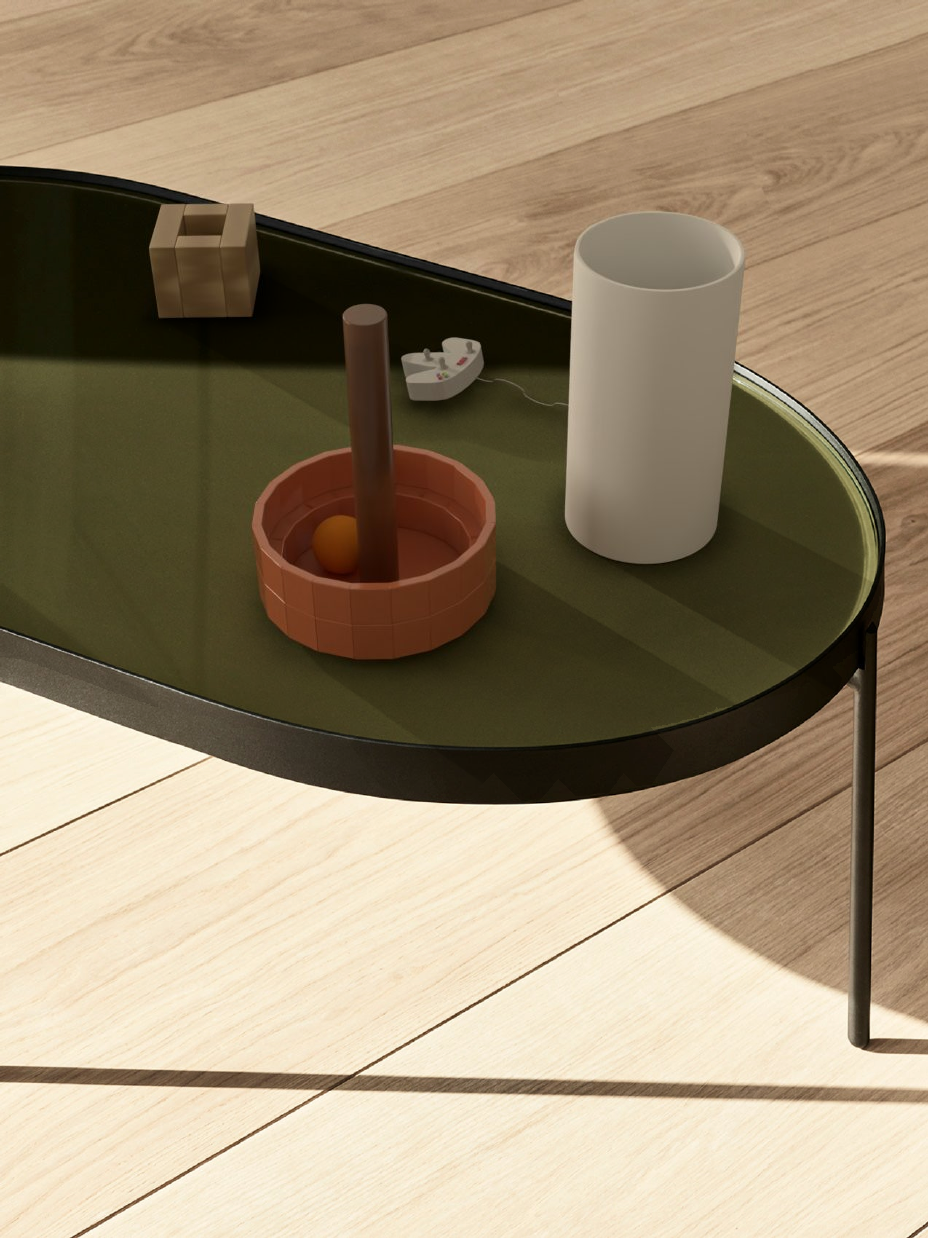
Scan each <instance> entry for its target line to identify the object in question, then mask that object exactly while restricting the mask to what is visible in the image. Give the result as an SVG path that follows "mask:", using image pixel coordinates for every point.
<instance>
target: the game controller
mask: <svg viewBox="0 0 928 1238" xmlns="http://www.w3.org/2000/svg"><path fill="white" fill-rule="evenodd" d="M441 347H442V350H443V352H441V351H437V352H431V350H430V349H429V348H424V350H423V352H411V353H406V354H404V355H402V356H401V358H400V360H401V364H402V369H403V373H404V377H405V382H406V388H407V392H408V396H409V399H410V400H412V401H442V400H443V401H444V400H449V399H450V398H453V397H454V396H456V395H458V394H460V393H462V392H463V391H464V390H465V389H467V388H468V387H469V386H470V385H471V384H472V383H473V382H474V381H475V380H480V381H482V382H486V383H487V382H488V383H492V382H494V381H496V380H497V381H502V382H506V383H509V384H511V385H513V386H515V387H517V388H519V389H520V390H522V393H523V395H524V396H525V397H526V398H527V399H529V400H530V401H533V402H535V403H537V404H541V405H543V406H547V407H552V406H554V405H555V404H556V405H557V404H559V405H563V406H568V407H569V404H567V403H564V402H554V404H548V403H543V402H540V401H538V400H535V399H533V398H531V396H529V395H527V394H526V393H525V390H524V389H523V388H522V387H521V386H519V385H518V384H516V383H514V382H512V381H509V380H507V379H503V378H495V379H494V380H487V379H483V378H480V377H478V376H480V374H481V373H482V370H483V368H484V365H485V361H484V355H483V349H482V345H481V343H480V342H479V341H477V340H473V339H468V338H461V337H449V338H446V339H444V340H443V341H442V342H441Z"/></svg>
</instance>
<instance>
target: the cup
mask: <svg viewBox="0 0 928 1238" xmlns="http://www.w3.org/2000/svg"><path fill="white" fill-rule="evenodd" d="M574 245H575V246H574V251H573V269H572V270H573V273H572V296H571V297H572V299H571V326H570V327H571V328H570V353H569V355H570V356H569V357H570V358H569V382H568V383H569V384H568V385H569V387H568V405H569V406H568V413H567V439H566V440H567V442H566V446H567V447H566V470H565V471H566V473H565V504H564V520H565V524H566V527H567V529H568V531H569V533H570V534H571V536H572V537H573V538H574V539H575V540H576V541H577V542H578V543H579V544H580V545H582V546H583V547H585V548H586V549H588V550H589V551H591V552H593V553H595V554H597V555H599V556H600V557H604V558H607V559H610V560H614V561H619V562H622V563H628V564H638V565H640V564H641V565H651V564H652V565H653V564H662V563H668V562H673V561H678V560H680V559H684V558H686V557H689V556H691V555H693V554H695V553H697V552H698V551H699V550H702V549H703V548H704V547H705V546H706V545H707V544H709V542H710V541H711V540H712V538H713V537H714V535H715V533H716V531H717V527H718V521H719V520H718V518H719V510H720V501H721V490H722V481H723V473H724V464H725V453H726V445H727V444H726V443H727V436H728V426H729V417H730V408H731V399H732V388H733V379H734V371H735V361H736V354H737V353H736V352H737V344H738V343H737V342H738V333H739V324H740V315H741V314H740V313H741V306H742V297H743V285H744V277H745V267H746V250H745V247H744V245H743V243H742V241H741V239H740V238H739V237H737V235H736V234H735V233H733V232H732V231H731V230H729V229H727V228H726V227H725V226H723V225H721V224H719V223H717V222H714V221H712V220H709V219H707V218H704V217H700V216H696V215H692V214H689V213H688V214H687V213H683V212H682V213H681V212H675V211H662V210H660V211H658V210H655V211H654V210H652V211H651V210H649V211H636V212H627V213H621V214H617V215H614V216H610V217H607V218H604V219H602V220H600V221H597V222H595V223H593V224H591V225H590V226H589V227H587V228H586V229H585V230H583V231H582V232H581V234H580V235H579V236H578V237H577V239H576V241H575V244H574Z"/></svg>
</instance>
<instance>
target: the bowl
mask: <svg viewBox="0 0 928 1238" xmlns="http://www.w3.org/2000/svg"><path fill="white" fill-rule="evenodd" d="M393 452H394V474H395V496H396V518H397V540H398V562H399V581H395V582H390V583H360V578H359V568H358V569H357V570H355V571H353V572H350V573H346V574H337V573H333V572H330V571H328V570H326V569H325V568H323V567H322V566H321V565H320V564H319V563H318V561H317V560H316V558H315V556H314V553H313V549H312V540H313V536H314V533H315V531H316V529H317V528H318V526H319V525H320V524H321V523H322V522H323V521H325V520H326V519H328V518H330V517H333V516H338V515H345V516H349V517H353V518H355V519H356V516H355V501H354V485H353V470H352V454H351V446H348V447H343V448H338V449H332V450H329V451H328V450H327V451H323V452H321V453H319V454H316V455H314V456H311V457H308V458H306V459H305V460H301V461H299V462H296V463H294V464H292V465H291V466H290V467H288V468H287V469H286V470H284V471H283V472H282V473H281V474H279V475H278V476H276V477H275V478H273V479H272V480H271V481H270V482H269V483H268V484H267V486H266V487H265V489H264V490H263V492H262V493H261V495H260V496H259V497H258V499H257V500H256V502H255V503H254V508H253V516H252V522H251V531H252V538H253V539H252V540H253V549H254V556H255V557H254V558H255V563H256V564H255V565H256V566H255V567H256V575H257V584H258V589H259V590H258V591H259V596H260V597H259V598H260V599H261V602H262V605H263V607H264V609H265V612H266V615H267V617H268V618H269V620H271V622H272V623H273V624H274V625H276V627H277V628H279V630H280V631H282V633H283V634H285V635H286V636H287V638H289V639H291V640H293V641H296V642H297V643H299V644H301V645H303V646H305V647H307V648H310V649H312V650H314V651H315V652H319V653H323V654H328V655H333V656H338V657H343V658H347V659H351V660H394V659H399V658H403V657H409V656H412V655H416V654H421V653H425V652H430V651H433V650H434V649H435V650H436V649H437V648H439V647H441V646H443V645H445V644H447V643H449V642H452V641H453V640H455V639H458V638H460V637H461V636H463V635H464V634H465V633H466V632H467V631H468V630H470V629H471V628H472V627H473V626H474V625H475V624H476V623H477V622H478V621H479V620H480V619H482V617H483V616H484V615H486V614H487V613H486V612H487V611H488V608H489V607H490V604H491V602H492V600H493V599H494V596H495V594H496V591H497V516H496V515H497V514H496V513H497V512H496V510H497V509H496V500H495V498H494V496H493V495H492V493H491V491H490V489H489V488H488V485H486V483H485V480H484V479H483V478H481V477H480V476H479V475H478V474H476V473H475V472H474V471H472V470H471V469H470V468H469V467H467V466H466V465H465V464H463V463H462V462H461V461H458V460H456V459H453V458H451V457H448V456H446V455H443V454H441V453H438V452H436V451H434V450H430V449H424V448H419V447H413V446H409V445H408V446H407V445H401V444H393Z"/></svg>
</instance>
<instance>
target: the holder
mask: <svg viewBox="0 0 928 1238" xmlns="http://www.w3.org/2000/svg"><path fill="white" fill-rule="evenodd" d="M159 208H160V209H159V212H158V215H157V219H156V223H155V227H154V229H153V233H152V237H151V240H150V243H149V247H148V250H149V257H150V264H151V272H152V279H153V285H154V286H153V287H154V293H155V299H156V306H157V312H158V313H157V314H158V318H159V319H183V318H186V319H187V318H227V317H228V318H252V317H253V314H254V309H255V302H256V298H257V293H258V286H259V280H260V275H261V265H260V256H259V255H260V254H259V245H258V235H257V225H256V216H255V215H256V214H255V203H253V202H251V203H249V202H248V203H247V202H246V203H241V202H240V203H187V204H186V203H178V204H177V203H169V204H168V203H167V204H165V203H163V204H161V205H160V207H159Z"/></svg>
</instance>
